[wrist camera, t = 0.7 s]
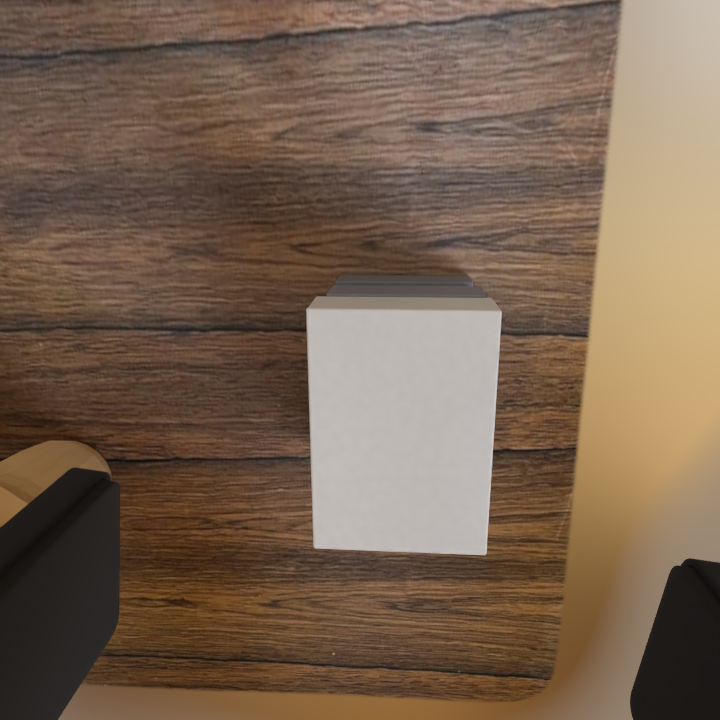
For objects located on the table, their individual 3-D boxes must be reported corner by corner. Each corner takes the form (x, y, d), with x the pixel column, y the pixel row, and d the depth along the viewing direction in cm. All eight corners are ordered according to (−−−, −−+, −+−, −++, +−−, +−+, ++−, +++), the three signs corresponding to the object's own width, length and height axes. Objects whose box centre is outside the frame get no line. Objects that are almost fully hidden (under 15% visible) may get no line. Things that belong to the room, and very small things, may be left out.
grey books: (337, 272, 30) (320, 293, 24) (471, 273, 29) (487, 295, 23) (340, 461, 32) (325, 520, 27) (462, 464, 32) (474, 525, 26)
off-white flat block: (315, 296, 24) (305, 308, 21) (492, 297, 23) (502, 310, 21) (321, 516, 27) (313, 549, 24) (479, 522, 26) (486, 556, 24)
